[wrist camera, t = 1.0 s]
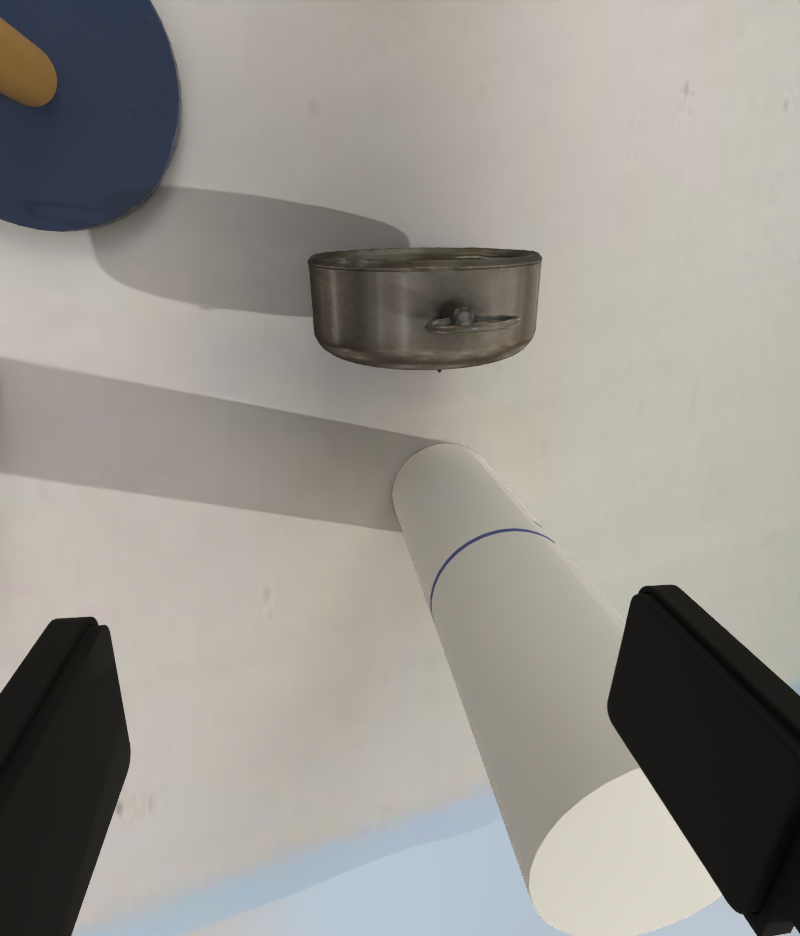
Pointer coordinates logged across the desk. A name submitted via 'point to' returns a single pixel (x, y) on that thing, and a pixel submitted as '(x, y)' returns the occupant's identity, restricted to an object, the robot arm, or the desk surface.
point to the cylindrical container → (543, 703)
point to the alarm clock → (425, 305)
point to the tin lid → (83, 110)
